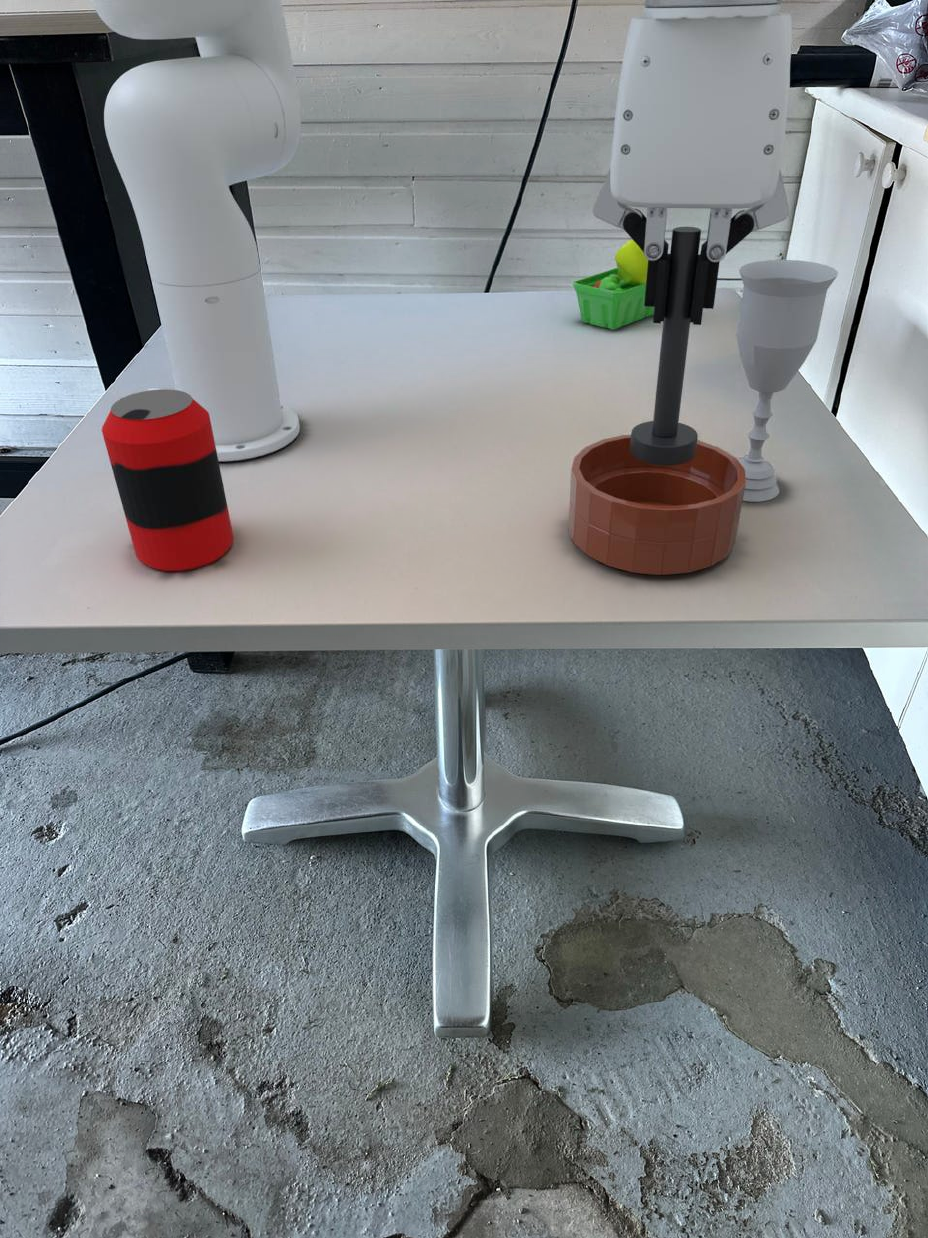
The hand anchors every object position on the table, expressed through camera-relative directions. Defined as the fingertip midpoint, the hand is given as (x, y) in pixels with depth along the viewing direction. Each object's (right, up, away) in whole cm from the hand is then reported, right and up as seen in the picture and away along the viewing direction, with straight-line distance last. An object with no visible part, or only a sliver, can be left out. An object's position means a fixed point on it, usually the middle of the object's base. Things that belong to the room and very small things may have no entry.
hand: (677, 316), depth 60 cm
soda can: (-37, -15, +11) cm, 41 cm away
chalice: (+10, -9, +17) cm, 22 cm away
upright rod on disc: (0, -8, +6) cm, 10 cm away
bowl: (0, -14, +10) cm, 17 cm away
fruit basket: (+6, +18, +56) cm, 59 cm away
